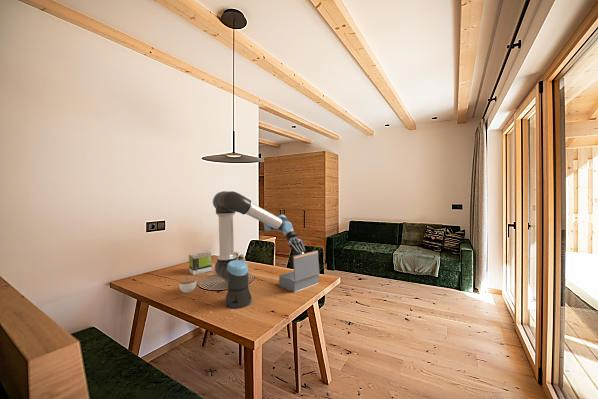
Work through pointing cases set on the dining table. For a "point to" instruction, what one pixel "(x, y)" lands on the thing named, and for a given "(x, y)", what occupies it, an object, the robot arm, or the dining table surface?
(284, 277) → the mailer box
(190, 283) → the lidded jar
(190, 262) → the tea box
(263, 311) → the dining table surface
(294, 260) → the lid
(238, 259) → the owl figurine
